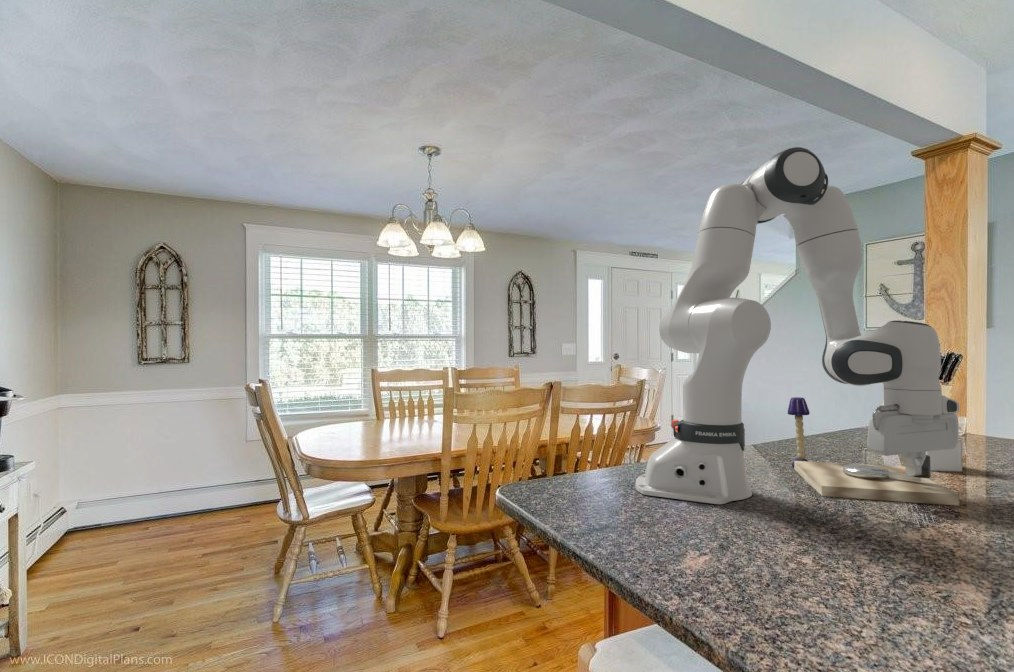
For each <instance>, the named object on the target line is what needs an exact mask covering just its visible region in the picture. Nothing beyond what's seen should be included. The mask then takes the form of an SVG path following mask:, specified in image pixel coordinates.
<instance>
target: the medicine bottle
mask: <svg viewBox="0 0 1014 672" xmlns="http://www.w3.org/2000/svg"><path fill="white" fill-rule="evenodd" d="M962 442H963V441H961V440H959V439H958V443H957V445H956V447H955V448H954V449H946V450H937V451H927V452H926V455H928V456H930V468H931V472H958V473H959V472H960V473H962V472H963V451H962V450H963V445H962V444H963V443H962Z"/></svg>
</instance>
